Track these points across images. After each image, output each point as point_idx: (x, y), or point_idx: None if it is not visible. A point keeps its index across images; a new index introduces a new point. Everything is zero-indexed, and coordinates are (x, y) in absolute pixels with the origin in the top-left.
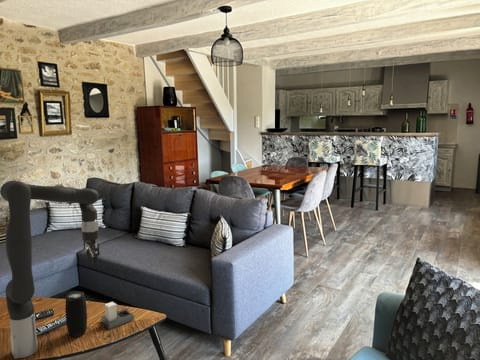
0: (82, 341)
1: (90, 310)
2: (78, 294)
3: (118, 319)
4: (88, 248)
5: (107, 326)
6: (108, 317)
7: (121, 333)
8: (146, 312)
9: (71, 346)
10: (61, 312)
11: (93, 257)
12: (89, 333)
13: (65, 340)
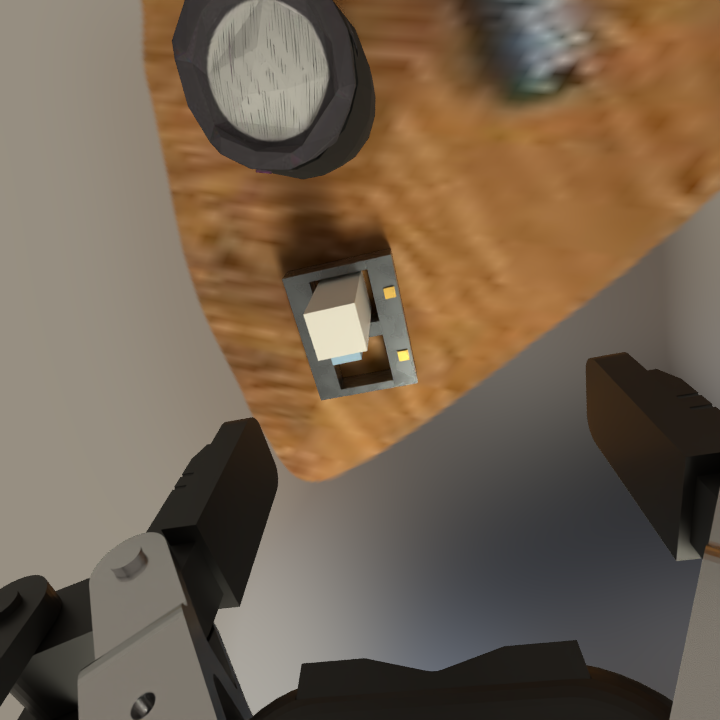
0: None
1: (558, 212)
2: (287, 112)
3: None
4: (502, 693)
5: (307, 269)
6: (319, 290)
7: (227, 314)
8: (367, 446)
9: None
10: (666, 16)
11: (173, 529)
12: None
13: None
